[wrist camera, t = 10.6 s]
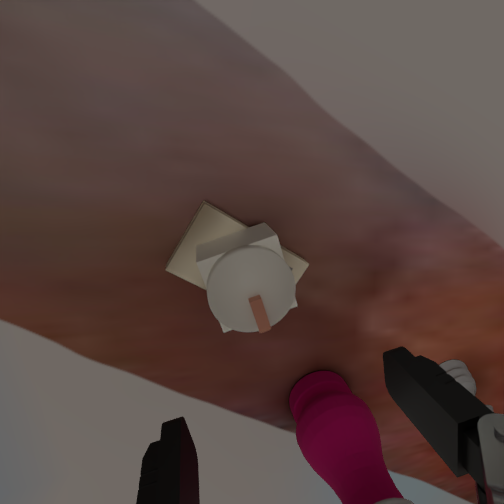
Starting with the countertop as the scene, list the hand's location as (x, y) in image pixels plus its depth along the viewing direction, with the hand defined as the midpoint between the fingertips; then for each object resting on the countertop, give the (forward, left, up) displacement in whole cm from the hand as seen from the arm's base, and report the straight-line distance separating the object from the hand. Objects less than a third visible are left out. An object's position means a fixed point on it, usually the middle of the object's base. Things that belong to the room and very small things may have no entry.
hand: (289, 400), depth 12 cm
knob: (0, 0, -14) cm, 14 cm away
